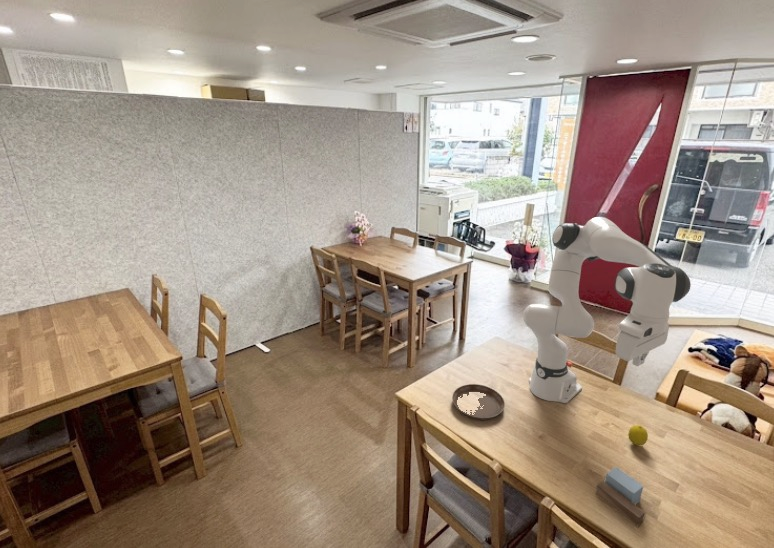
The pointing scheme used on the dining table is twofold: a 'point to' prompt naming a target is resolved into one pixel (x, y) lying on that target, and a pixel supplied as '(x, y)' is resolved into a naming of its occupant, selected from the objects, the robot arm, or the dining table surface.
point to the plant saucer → (481, 401)
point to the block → (624, 485)
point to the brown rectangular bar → (620, 503)
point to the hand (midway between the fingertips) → (637, 364)
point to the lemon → (638, 435)
